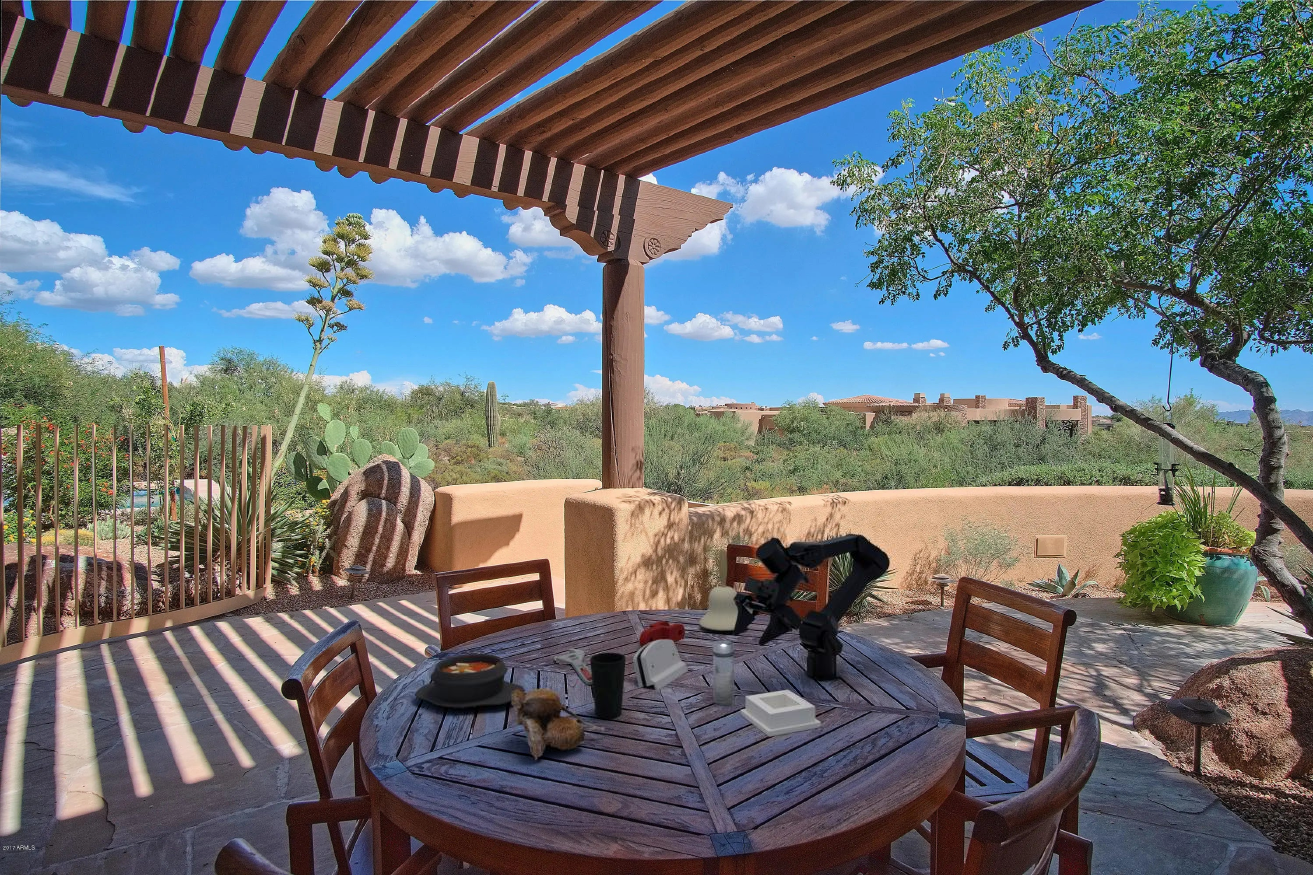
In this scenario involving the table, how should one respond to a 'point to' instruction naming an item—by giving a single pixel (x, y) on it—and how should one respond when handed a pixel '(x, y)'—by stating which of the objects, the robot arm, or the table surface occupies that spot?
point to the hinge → (658, 664)
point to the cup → (608, 684)
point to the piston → (723, 672)
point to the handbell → (721, 602)
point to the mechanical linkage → (662, 632)
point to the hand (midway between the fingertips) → (746, 639)
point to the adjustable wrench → (577, 664)
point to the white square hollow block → (780, 713)
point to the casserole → (468, 682)
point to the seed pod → (547, 721)
